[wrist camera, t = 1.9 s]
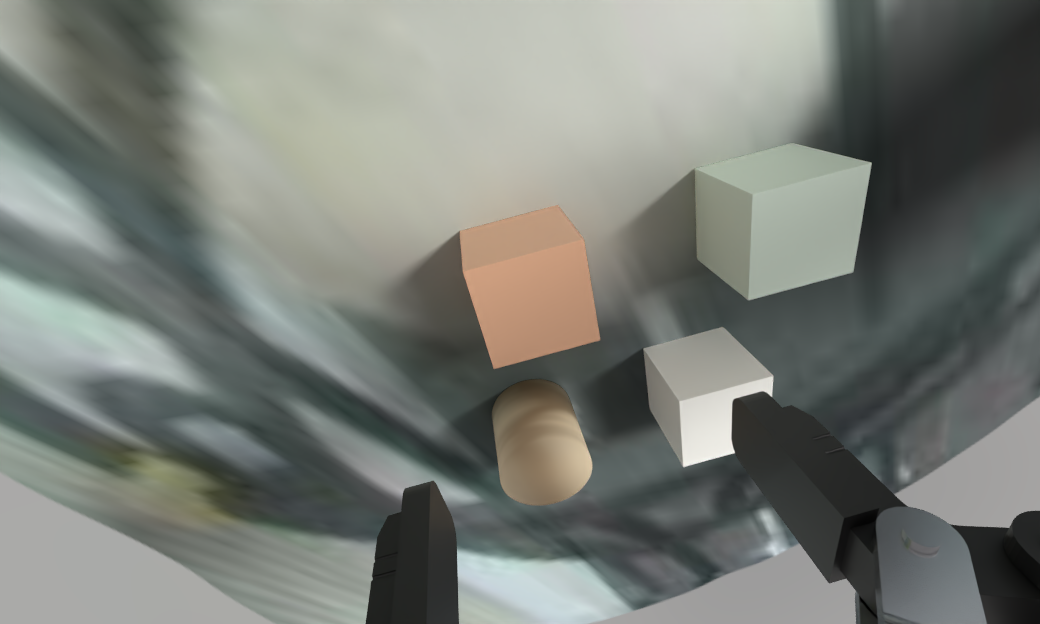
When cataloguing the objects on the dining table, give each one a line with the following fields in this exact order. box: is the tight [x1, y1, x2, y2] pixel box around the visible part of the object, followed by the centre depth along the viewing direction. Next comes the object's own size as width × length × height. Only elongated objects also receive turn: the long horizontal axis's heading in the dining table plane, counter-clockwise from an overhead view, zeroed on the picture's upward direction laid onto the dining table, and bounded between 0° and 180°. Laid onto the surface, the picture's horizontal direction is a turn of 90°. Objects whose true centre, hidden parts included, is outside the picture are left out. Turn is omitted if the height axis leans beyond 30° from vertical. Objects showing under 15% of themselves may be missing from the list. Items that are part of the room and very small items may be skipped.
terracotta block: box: [460, 205, 600, 369], centre depth 22 cm, size 5×5×5 cm
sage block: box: [695, 143, 872, 300], centre depth 22 cm, size 5×5×5 cm
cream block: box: [643, 327, 773, 467], centre depth 27 cm, size 5×5×5 cm
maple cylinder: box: [492, 379, 592, 505], centre depth 27 cm, size 5×5×5 cm
